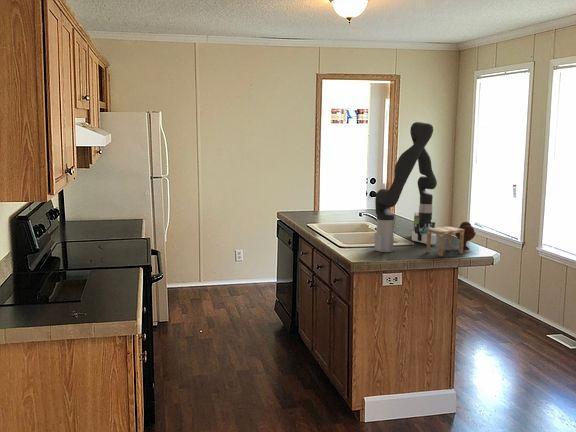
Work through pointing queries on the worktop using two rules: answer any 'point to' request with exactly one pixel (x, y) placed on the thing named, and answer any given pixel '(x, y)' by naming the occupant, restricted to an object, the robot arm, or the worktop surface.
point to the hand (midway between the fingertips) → (423, 240)
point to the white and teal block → (424, 236)
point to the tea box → (416, 219)
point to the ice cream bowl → (466, 233)
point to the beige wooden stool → (443, 231)
